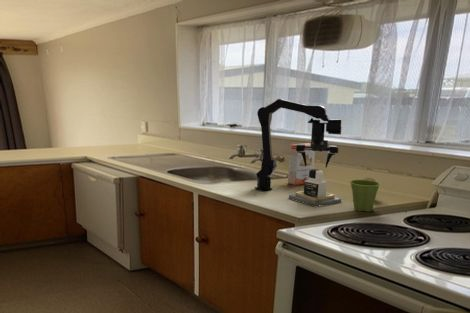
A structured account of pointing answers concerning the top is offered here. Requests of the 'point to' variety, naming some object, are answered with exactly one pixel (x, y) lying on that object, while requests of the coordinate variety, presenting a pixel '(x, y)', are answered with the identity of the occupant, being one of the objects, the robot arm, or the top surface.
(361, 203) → the plant pot
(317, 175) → the medicine bottle
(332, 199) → the picture frame
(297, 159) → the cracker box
